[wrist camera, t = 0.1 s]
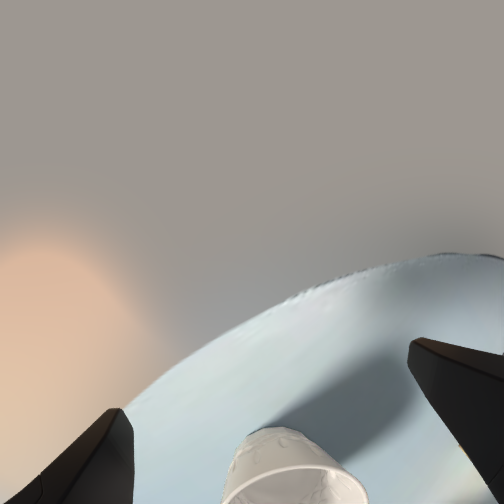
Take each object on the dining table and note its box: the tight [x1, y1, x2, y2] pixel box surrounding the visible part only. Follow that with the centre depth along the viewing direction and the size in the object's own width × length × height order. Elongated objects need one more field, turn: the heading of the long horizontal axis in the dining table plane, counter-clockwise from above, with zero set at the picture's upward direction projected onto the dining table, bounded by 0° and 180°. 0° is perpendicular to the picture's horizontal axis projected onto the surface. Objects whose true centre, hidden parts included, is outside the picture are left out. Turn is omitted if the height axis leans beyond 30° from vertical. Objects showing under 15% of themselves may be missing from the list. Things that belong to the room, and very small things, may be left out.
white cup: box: [220, 427, 369, 504], centre depth 15 cm, size 8×8×10 cm
